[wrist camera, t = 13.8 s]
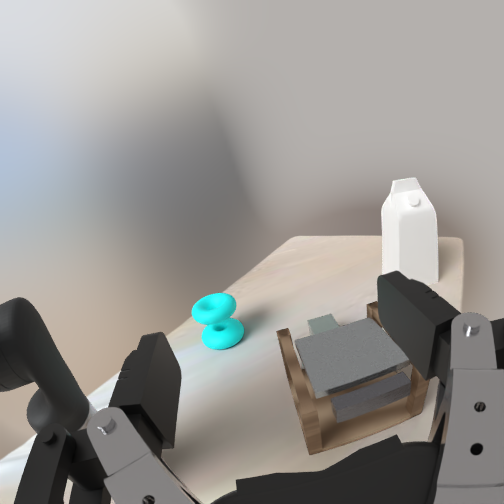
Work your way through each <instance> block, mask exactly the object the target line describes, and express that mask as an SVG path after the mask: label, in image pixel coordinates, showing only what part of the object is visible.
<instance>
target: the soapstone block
mask: <svg viewBox="0 0 504 504" xmlns="http://www.w3.org/2000/svg"><path fill="white" fill-rule="evenodd" d="M308 326H309V331H310V336H311V335H315V334H318V333H321V332H325V331H328V330H331V329H335V328H338V327H339V325H338V324H337V322H336V321H335V319H334V317H333V316H332V314H329V315H326V316H322V317H318V318H315V319H311V320H308Z"/></svg>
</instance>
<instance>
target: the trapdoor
mask: <svg viewBox="0 0 504 504" xmlns="http://www.w3.org/2000/svg"><path fill="white" fill-rule="evenodd" d="M295 345H296V348H297V350H298V353H299V355H300V358H301V360H302V363H303V366H304V368H305V371H306V373H307V376H308V378H309V381H310V384H311V386H312V389H313V391H314V394H315V397H316V399H317V398H321V397H324V396H327V395H330V394H334V393H337V392H340V391H343V390H346V389H349V388H352V387H354V386H357V385H360V384H363V383H366V382H368V381H371V380H374V379H376V378H379V377H381V376H384V375H386V374H389V373H391V372H394V371H396V370H399V369H401V368H403V367H406V366H408V365H410V360H409V359H408V357H407V356H406V355H405V354H404V352H403V351H402V350H401V349H400V347H399V346H398V345H397V344H396V343H395V342H394V341H393V340H392V339H391V338H390V337H389V336H388V335H387V334H386V333H385V332H384V330H383V329H382V328H381V327H380V326H379V325H378V324H377V323H376V322H375V321H374V320H373V319H372V318H371V317H368V318H366V319H363V320H360V321H357V322H353V323H350V324H347V325H344V326H341V327H338V328H335V329H331V330H328V331H325V332H321V333H318V334H315V335H311V336H308V337H304V338H301V339H297V340H295ZM410 390H411V381H410V380H409V378H408V377H407V376H406V375H405V374H404V372H401V373H398V374H396V375H394V376H391V377H389V378H386V379H384V380H381V381H379V382H376V383H373V384H371V385H368V386H365V387H363V388H360V389H357V390H354V391H351V392H349V393H346V394H343V395H340V396H337V397H333V398H331V406H332V412H333V414H334V417H335V419H336V421H337V423H340V422H343V421H346V420H349V419H352V418H355V417H357V416H360V415H363V414H366V413H368V412H371V411H373V410H376V409H379V408H381V407H383V406H386V405H388V404H391V403H393V402H395V401H398V400H400V399H402V398H405V397H407V396H409V395H410Z"/></svg>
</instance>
